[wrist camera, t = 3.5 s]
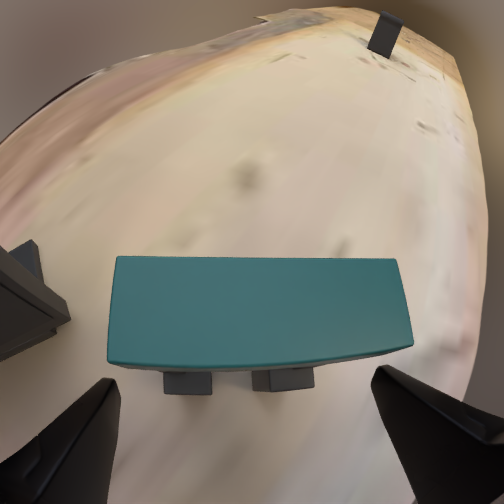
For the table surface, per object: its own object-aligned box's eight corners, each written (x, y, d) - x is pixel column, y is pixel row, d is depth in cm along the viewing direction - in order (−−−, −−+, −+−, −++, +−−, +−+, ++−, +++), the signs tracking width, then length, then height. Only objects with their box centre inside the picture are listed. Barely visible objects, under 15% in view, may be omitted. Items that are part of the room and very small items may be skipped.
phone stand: (388, 59, 51) (405, 22, 41) (366, 48, 52) (381, 11, 41) (388, 51, 55) (403, 19, 45) (369, 42, 56) (382, 9, 45)
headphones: (285, 388, 17) (419, 375, 5) (177, 391, 16) (105, 401, 4) (281, 330, 19) (389, 231, 7) (176, 331, 18) (121, 224, 6)
